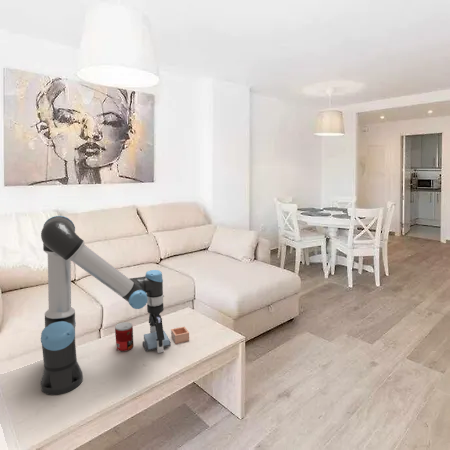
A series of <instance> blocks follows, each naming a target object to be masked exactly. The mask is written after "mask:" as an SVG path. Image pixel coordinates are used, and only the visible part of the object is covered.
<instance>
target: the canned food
mask: <svg viewBox="0 0 450 450" xmlns="http://www.w3.org/2000/svg"><path fill="white" fill-rule="evenodd" d="M133 328H134V327H133V323H132V322H130V321H129V322H128V321H123V322H120V323H117V324H115V327H114V333H115V346H116V350H118V351H119V352H127V351H130V350H131V349H132V348H133V347H134V332H133V331H134V329H133Z"/></svg>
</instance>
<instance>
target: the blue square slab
mask: <svg viewBox="0 0 450 450" xmlns="http://www.w3.org/2000/svg"><path fill="white" fill-rule="evenodd" d="M163 332H164V338H165V339H164V340H163V346H165V345H170V342H171V340H170V337H169V336H168V335H167V333H166V331H165V330H164V329H163ZM156 339H157V334H156V332H153V333H150V332H149V333H144V334H143V340H144V341H145V343H146V345H147V347H148V349H152V348H156V347H157V341H156Z"/></svg>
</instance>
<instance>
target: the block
mask: <svg viewBox="0 0 450 450" xmlns="http://www.w3.org/2000/svg"><path fill="white" fill-rule="evenodd" d="M171 345H172V344H171V341H170V345H165V346H163V349H164V348H168V347H171ZM142 346H143V349H144V351H145V352H150V351H154V350H157V347H156V348H152V349H148V347H147V345H146V343H145V341H142Z"/></svg>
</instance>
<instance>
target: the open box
mask: <svg viewBox="0 0 450 450" xmlns="http://www.w3.org/2000/svg"><path fill="white" fill-rule="evenodd" d="M170 334H171V337H170V338H171V340H172V341H173V343H174V344H175V345H178V344H182V343H186V342H190V332H189V331H188V329H187V328H186V327H185V326H180V327H176V328H175V327H174V328H171V329H170Z"/></svg>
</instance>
